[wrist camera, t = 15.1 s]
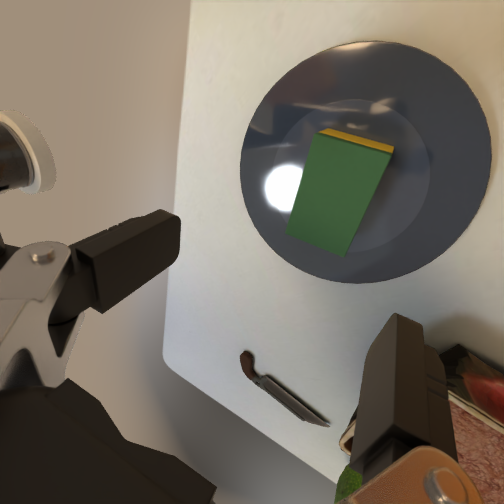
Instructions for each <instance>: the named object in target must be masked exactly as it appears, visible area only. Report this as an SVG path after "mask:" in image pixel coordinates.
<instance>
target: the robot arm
mask: <svg viewBox="0 0 504 504" xmlns="http://www.w3.org/2000/svg"><path fill="white" fill-rule="evenodd" d="M33 181H34V168H33V164H32V161H31V158H30V155H29V153H28V151H27V149H26V147H25V145H24V144H23V142H22V140H21V139H20V138H19V136H18V135H17V134H16V132H15V131H14V130H13V129H12V128H11V127H9V126H8V125H7V124H5V123H4V122H1V121H0V194H2V193H5V192H7V191H9V190H11V189H16V188H20V187H28V186H31V185H32V184H33ZM180 232H181V220H180V218H179V217H178V216H176V215H174V214H171V213H169V212H167V211H165V210H162V209H159V210H157V211H155V212H152V213H150V214H148V215H146V216H141V217H136V218H131V219H128V220H126V221H124V222H122V223H119V225H115V226H113V227H110V228H109V229H108V230H107V229H106V230H103V231H101V232H99V233H97V234H95V235H92V236H90V237H88V238H86V239H83V240H81V241H79V242H76V243H74V244H72V245H69V246H67V245H65V244H63V243H60V242H52V241H45V242H37V243H33V244H30V245H27V246H24V247H22V248H20V247H15V246H11V245H7V244H4V242H3V239H2V237H1V234H0V504H215V503H214V502H213V497H214V494H215V492H216V489H217V487H216V486H215V485H213V484H212V483H211V482H209V481H208V480H207V479H205V478H204V477H202V476H201V475H200V474H199V473H197V472H196V471H194V470H193V469H192V468H190V467H189V466H188V465H186V464H185V463H184V462H182V461H181V460H179V459H178V458H177V457H175V456H173V455H169V454H166V453H163V452H160V451H157V450H154V449H151V448H148V447H144V446H142V445H139V444H135V443H132V442H130V441H127V440H126V439H124V437H123V436H122V435H121V433H120V432H119V430H118V429H117V427H116V426H115V424H114V422H113V421H112V420H111V418H110V416H109V415H108V413H107V412H106V410H105V409H104V407H103V406H102V404H101V402H100V401H99V400H97V399H96V398H95V397H93V396H92V395H91V394H89V393H88V392H87V391H85V390H84V389H82V388H81V387H80V386H78V385H77V384H76V383H74V382H73V381H72V380H70V379H69V378H67V379H66V380H65V369H66V365H67V362H68V359H69V356H70V354H71V351H72V349H73V346H74V343H75V341H76V338H77V335H78V332H79V330H80V327H81V325H82V322H83V320H84V310H86V309H87V308H89V307H92V308H93V309H95V310H97V311H98V312H100V313H101V314H103V313H105V312H106V311H107V310H109V309H110V308H112V307H113V306H114V305H116V304H117V303H119V302H120V301H121V300H123V299H124V298H126V297H127V296H128V295H130V294H131V293H132V292H134V291H135V290H137V289H138V288H140V287H141V286H142V285H144V284H145V283H147V282H148V281H149V280H151V279H152V278H154V277H155V276H156V275H158V274H159V273H161V272H162V271H163V270H165V269H166V268H167V267H169V266H170V265H172V264H173V263H174V262H175V260H176V259H177V257H178V254H179V250H180ZM446 384H447V381H446V374H445V367H444V365H443V363H442V361H441V360H440V358H439V356H438V354H437V352H436V351H435V349H434V348H431V347H429V346H427V345H425V344H424V335H423V326H422V324H420V323H418V322H415V321H413V320H411V319H409V318H406V317H404V316H402V315H399V314H397V313H394V314H393V315H392V316H391V317H390V318H389V320H388V321H387V323H386V324H385V326H384V327H383V329H382V330H381V332H380V333H379V334H378V336H377V337H376V339H375V340H374V342H373V343H372V345H371V347H370V349H369V351H368V353H367V356H366V360H365V365H364V371H363V378H362V384H361V391H360V398H359V404H358V411H357V417H356V424H355V430H354V437H353V444H352V450H351V457H350V463H349V468H351V469H353V470H354V471H356V472H357V473H359V474H361V475H362V485H361V487H360V488H358V489H357V490H356V491H354V492H353V493H351V494H350V495H349V496H347V497H346V498H344V499H342V500H340V501H339V502H337V503H336V504H485V503H484V501H483V498H482V496H481V494H480V492H479V490H478V488H477V486H476V485H475V483H474V482H473V480H472V479H471V477H470V476H469V475H468V474H467V472H466V471H465V470H464V469H463V468H462V467H461V466H460V465H459V462H458V456H457V449H456V442H455V436H454V429H453V422H452V415H451V408H450V402H449V401H448V399H449V394H448V388H447V386H446Z"/></svg>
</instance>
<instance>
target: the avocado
mask: <svg viewBox="0 0 504 504" xmlns="http://www.w3.org/2000/svg"><path fill="white" fill-rule="evenodd" d="M361 485H362V475H361V474H359V473H357V472H356V471H354V470H353V469H351V468H349V464H348V465H347V466H346V467H345V469H344V471H343V472H342V474H341V476H340V477H339V480H338V483H337V489H336V495H335V502H334V504H336V503H337V502H339V501H340V500H342V499H344V498H346V497H347V496H349V495H350V494H351V493H353V492H354V491H356V490H357V489H358V488H360V487H361Z"/></svg>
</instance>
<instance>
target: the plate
mask: <svg viewBox="0 0 504 504" xmlns="http://www.w3.org/2000/svg"><path fill="white" fill-rule="evenodd" d="M327 128H329V129H333V130H337V131H340V132H344V133H347V134H351V135H355V136H358V137H362V138H365V139H369V140H373V141H376V142H380V143H383V144H387V145H390V146H393V147H394V150H393V153H392V157H391V159H390V161H389V163H388V165H387V167H386V170H385V172H384V174H383V176H382V178H381V180H380V182H379V185H378V187H377V189H376V191H375V193H374V195H373V198H372V200H371V202H370V204H369V206H368V208H367V210H366V213H365V215H364V217H363V219H362V221H361V223H360V226H359V228H358V230H357V232H356V234H355V236H354V238H353V241H352V243H351V245H350V247H349V249H348V251H347V253H346V256H345V257H341V256H339V255H336V254H334V253H331V252H329V251H326V250H324V249H321V248H319V247H317V246H314V245H312V244H309V243H307V242H304V241H302V240H299V239H297V238H295V237H292V236H290V235H287V234H285V231H286V228H287V224H288V221H289V217H290V214H291V211H292V207H293V204H294V200H295V197H296V194H297V190H298V187H299V183H300V180H301V177H302V173H303V170H304V166H305V163H306V160H307V156H308V153H309V150H310V146H311V143H312V139H313V136H314V134H315V133H317V132H320V131H322V130H325V129H327ZM491 160H492V151H491V137H490V132H489V128H488V124H487V120H486V117H485V114H484V112H483V110H482V108H481V105H480V103H479V101H478V99H477V97H476V96H475V94H474V93H473V92H472V90H471V89H470V87H469V86H468V84H467V83H466V82H465V81H464V80H463V79H462V78H461V77H460V76H459V75H458V74H457V73H456V72H455V71H454V70H453V69H452V68H451V67H450V66H448V65H447V64H445V63H444V62H442V61H441V60H440V59H438V58H437V57H435V56H433V55H431V54H429V53H427V52H424V51H422V50H420V49H418V48H415V47H411V46H408V45H404V44H400V43H396V42H385V41H362V42H353V43H349V44H344V45H339V46H336V47H333V48H330V49H327V50H325V51H322V52H319V53H317V54H315V55H314V56H312V57H310V58H308V59H306V60H304V61H302V62H301V63H300V64H298V65H297V66H295V67H294V68H293V69H291V70H290V71H289V72H287V73H286V74H285V75H284V76H283V77H282V78H281V79H280V80H279V81H278V82H277V83H276V84H275V85H274V86H273V87H272V88H271V90H270V91H269V92H268V93H267V94H266V96H265V97H264V98H263V100H262V101H261V103H260V105H259V106H258V108H257V109H256V111H255V113H254V115H253V117H252V119H251V121H250V123H249V126H248V129H247V132H246V135H245V138H244V142H243V147H242V152H241V161H240V180H241V188H242V194H243V198H244V202H245V205H246V208H247V211H248V213H249V216H250V218H251V220H252V222H253V224H254V226H255V227H256V229H257V230H258V232H259V234H260V235H261V237H262V238H263V239H264V240H265V242H266V243H267V244H268V245H269V246H270V247H271V248H272V249H273V250H274V251H275V252H276V253H277V254H278V255H279V256H280V257H282V258H283V259H284V260H285V261H287V262H288V263H290V264H291V265H293V266H295V267H296V268H298V269H300V270H302V271H304V272H306V273H308V274H311V275H313V276H316V277H319V278H322V279H326V280H330V281H335V282H341V283H355V284H361V283H374V282H380V281H386V280H390V279H393V278H397V277H400V276H403V275H405V274H408V273H410V272H413V271H415V270H417V269H419V268H421V267H423V266H424V265H426V264H428V263H430V262H431V261H433V260H434V259H435V258H437V257H438V256H440V255H441V254H442V253H444V252H445V251H446V250H447V249H448V248H449V247H450V246H451V245H452V244H453V243H454V242H456V241H457V239H458V238H459V237H460V236H461V234H462V233H463V232H464V231H465V230H466V228H467V227H468V226H469V224H470V223H471V221H472V219H473V218H474V216H475V214H476V213H477V211H478V209H479V207H480V204H481V202H482V200H483V198H484V195H485V192H486V188H487V185H488V181H489V177H490V170H491Z"/></svg>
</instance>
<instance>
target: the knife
mask: <svg viewBox="0 0 504 504" xmlns="http://www.w3.org/2000/svg"><path fill="white" fill-rule="evenodd" d="M240 362H241V366H242V370H243V372H244V373H245V375H246V376H247V377H248V378H249V379H250V380H252V381H253V382H254V383H255V384H256V385H257V386H258V387H260V388H261V389H263V390H264V391H266V392H267V393H268V394H270V395H271V396H272V397H273V398H275V399H276V400H277V401H278V402H280V403H281V404H282V405H283V406H285V407H286V408H287V409H288V410H289V411H291V412H292V413H293V414H294V415H296V416H297V417H298V418H299V419H301V420H302V421H307V422H309V423H312V424H316V425H320V426H324V427H330V426H329V425H327V424H326V423H325V422H324V421H322V420H321V419H320V418H318V417H317V416H316V415H315V414H313V413H312V412H311V411H310V410H308V409H307V408H306V407H305V406H303V405H302V404H301V403H300V402H298V401H297V400H296V399H295V398H293V397H292V396H291V395H290V394H288V393H287V392H286V391H285V390H283V389H282V388H281V387H280V386H278V385H277V384H276V383H274V382H273V381H272V380H271V379H269V378H268V377H267V376H263V377H262V378H259V377H258V376H256V374H255V373H254V371H253V370H252V362H253V361H252V356H251V355H250V354H249V353H248V352H245V351H244V352H243V353H242V354H241V355H240ZM258 382H259V383H258Z"/></svg>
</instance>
